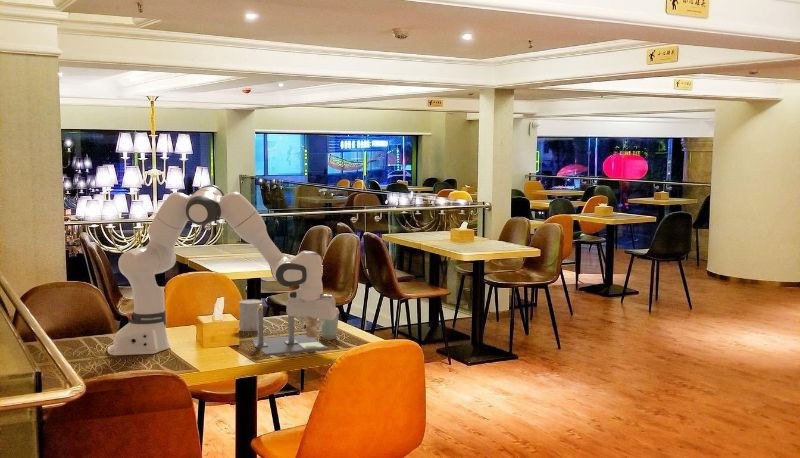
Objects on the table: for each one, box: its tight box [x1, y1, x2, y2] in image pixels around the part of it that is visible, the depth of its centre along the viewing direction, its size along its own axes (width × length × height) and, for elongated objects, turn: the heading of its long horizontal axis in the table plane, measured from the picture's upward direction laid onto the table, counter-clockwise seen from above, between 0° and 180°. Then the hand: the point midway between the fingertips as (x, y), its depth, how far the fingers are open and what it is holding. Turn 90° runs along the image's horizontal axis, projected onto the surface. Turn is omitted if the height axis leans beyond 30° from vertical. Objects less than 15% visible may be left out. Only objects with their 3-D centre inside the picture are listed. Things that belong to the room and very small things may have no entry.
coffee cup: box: [320, 307, 340, 341], centre depth 332 cm, size 8×8×12 cm
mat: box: [251, 334, 329, 357], centre depth 320 cm, size 24×24×1 cm
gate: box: [253, 303, 298, 349], centre depth 317 cm, size 16×4×16 cm, turn 112°
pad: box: [299, 341, 326, 349], centre depth 316 cm, size 8×8×1 cm
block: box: [305, 316, 318, 338], centre depth 315 cm, size 4×4×8 cm
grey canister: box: [238, 298, 263, 332], centre depth 345 cm, size 10×10×12 cm
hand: (311, 329), depth 315 cm, fingers closed on block, 5 cm apart
